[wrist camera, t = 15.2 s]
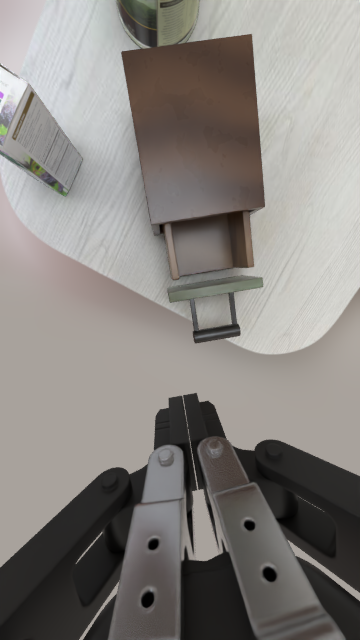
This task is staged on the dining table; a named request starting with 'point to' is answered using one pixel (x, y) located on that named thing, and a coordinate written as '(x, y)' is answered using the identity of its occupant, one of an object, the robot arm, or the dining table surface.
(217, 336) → the drawer
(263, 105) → the dining table surface
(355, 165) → the dining table surface
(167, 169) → the cabinet
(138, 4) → the coffee can
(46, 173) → the syrup box
